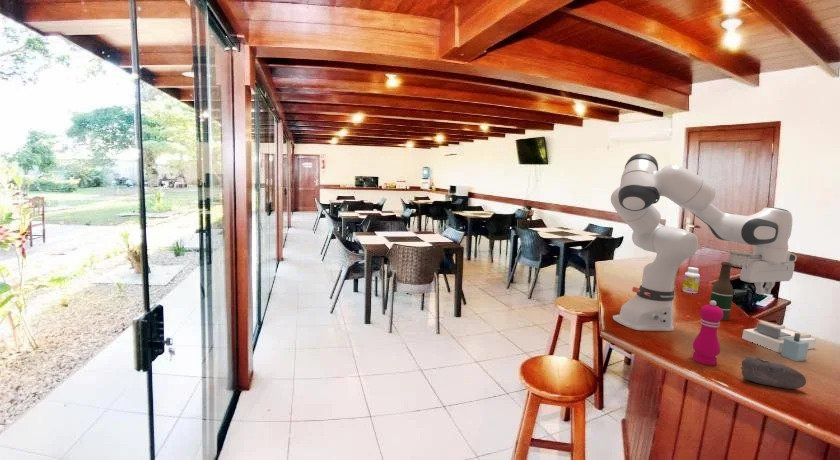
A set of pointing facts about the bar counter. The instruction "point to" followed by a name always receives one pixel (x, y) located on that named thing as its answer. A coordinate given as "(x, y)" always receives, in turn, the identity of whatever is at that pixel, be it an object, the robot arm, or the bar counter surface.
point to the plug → (795, 348)
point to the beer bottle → (723, 290)
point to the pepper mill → (708, 335)
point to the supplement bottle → (691, 280)
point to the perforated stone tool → (771, 373)
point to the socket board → (772, 342)
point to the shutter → (770, 330)
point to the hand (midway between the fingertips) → (762, 293)
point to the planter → (738, 258)
